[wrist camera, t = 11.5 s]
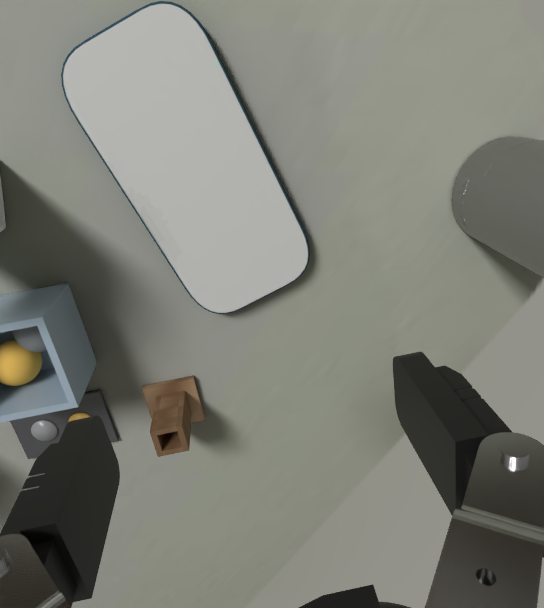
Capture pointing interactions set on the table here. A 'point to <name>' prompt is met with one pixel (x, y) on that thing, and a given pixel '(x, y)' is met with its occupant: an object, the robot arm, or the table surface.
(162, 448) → the brown square ball stand
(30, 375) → the ball amber
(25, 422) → the card
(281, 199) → the white rounded slab
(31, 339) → the ball grey
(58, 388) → the blue open box
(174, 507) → the table surface
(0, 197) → the syrup box
